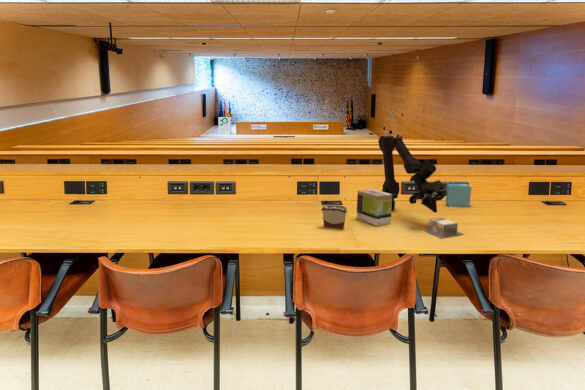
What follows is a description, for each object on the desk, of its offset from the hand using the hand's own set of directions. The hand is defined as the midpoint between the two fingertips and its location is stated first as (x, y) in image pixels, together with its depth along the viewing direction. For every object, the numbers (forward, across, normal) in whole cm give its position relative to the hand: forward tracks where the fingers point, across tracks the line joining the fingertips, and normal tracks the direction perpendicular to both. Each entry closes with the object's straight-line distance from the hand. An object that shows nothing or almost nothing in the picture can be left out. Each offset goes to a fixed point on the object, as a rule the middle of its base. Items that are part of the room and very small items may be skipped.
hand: (435, 212), depth 208 cm
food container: (-9, -41, +21) cm, 47 cm away
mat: (+10, 0, +1) cm, 10 cm away
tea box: (-10, -19, +22) cm, 30 cm away
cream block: (+3, 0, +4) cm, 5 cm away
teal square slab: (-14, +40, +26) cm, 50 cm away
